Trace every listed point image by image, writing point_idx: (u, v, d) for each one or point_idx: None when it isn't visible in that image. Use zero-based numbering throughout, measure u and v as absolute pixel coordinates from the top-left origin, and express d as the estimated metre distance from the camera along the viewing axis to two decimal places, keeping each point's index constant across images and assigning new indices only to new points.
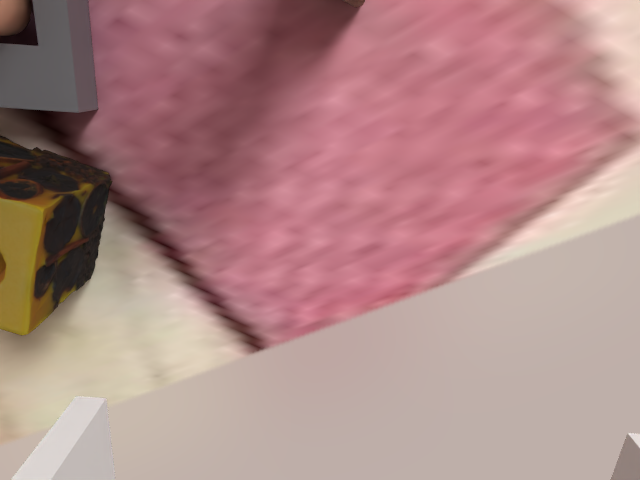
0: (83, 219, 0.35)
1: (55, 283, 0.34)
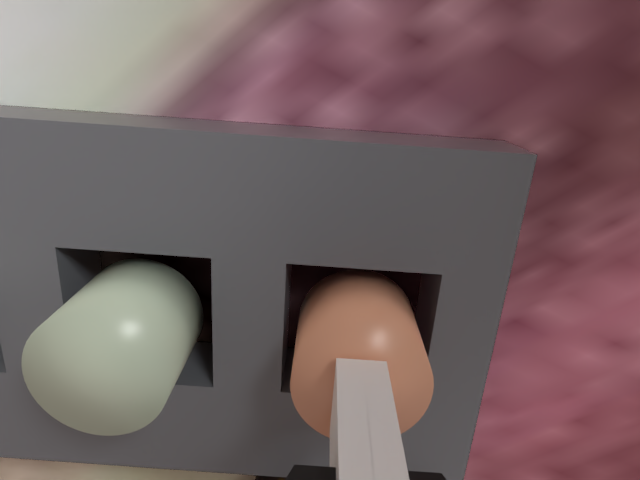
0: None
1: None
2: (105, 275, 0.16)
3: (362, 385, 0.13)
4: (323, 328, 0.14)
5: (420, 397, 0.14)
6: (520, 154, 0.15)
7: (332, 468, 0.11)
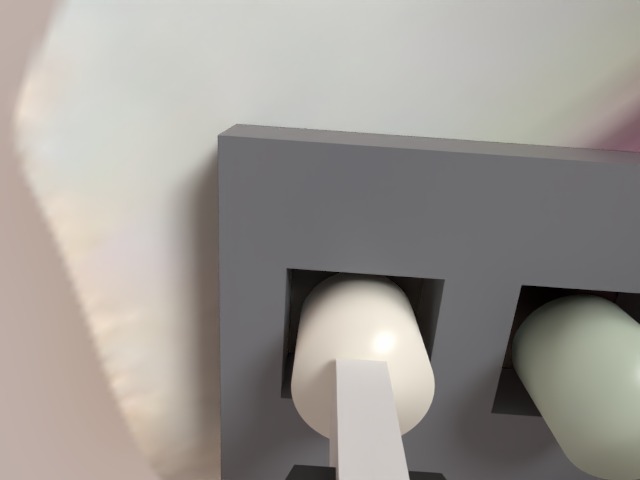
0: None
1: None
2: (583, 314, 0.16)
3: (362, 385, 0.13)
4: None
5: None
6: None
7: (332, 468, 0.11)
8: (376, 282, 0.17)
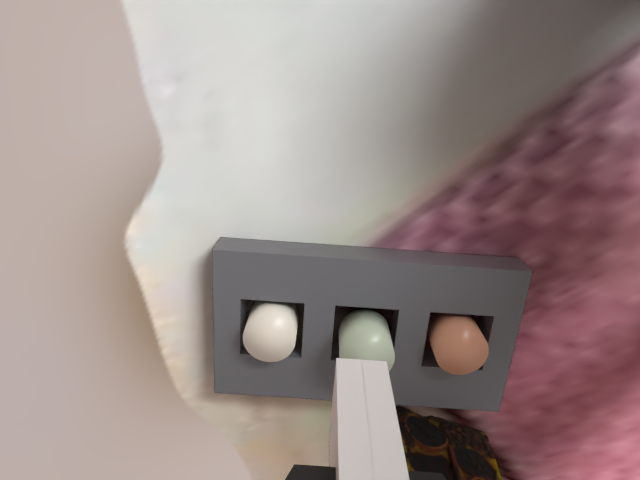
0: None
1: None
2: (358, 317, 0.39)
3: (362, 385, 0.13)
4: (448, 330, 0.38)
5: (483, 356, 0.39)
6: (526, 271, 0.38)
7: (332, 468, 0.11)
8: None
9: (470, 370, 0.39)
